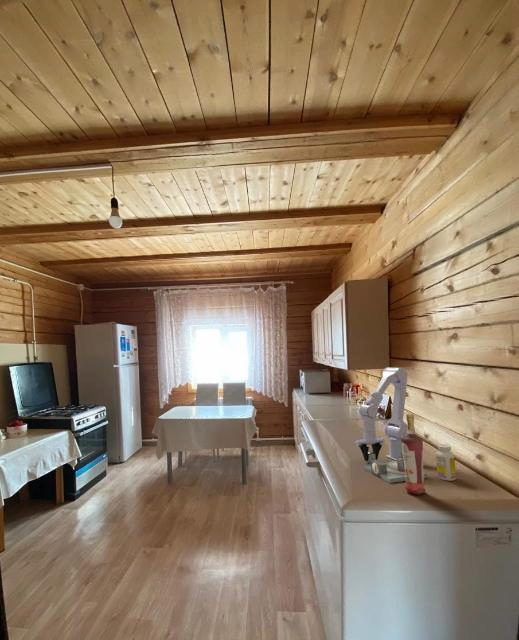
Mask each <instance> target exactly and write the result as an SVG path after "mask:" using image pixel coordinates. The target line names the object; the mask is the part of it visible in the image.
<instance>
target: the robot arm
mask: <svg viewBox="0 0 519 640" xmlns="http://www.w3.org/2000/svg"><path fill="white" fill-rule="evenodd" d="M407 379H408V372H407V371H406V369H404V368H403V367H389V366H387V367H385V368H384V369H383V372H382V377H381V380H380V382H379V384H378V386H377V388H376V390H375V391H374V390H373V391H371V392H370V393H369V396H368V398H367V399H366V401H365V402H364V403H363V404H361V405H360V408H359V410H358V413H359V414H360V416H361V421H362V432H363V433H362V435H363V438H362V439H359V440H357V439H356V440H355V441H354V443H355V444H354V445H355V446H356V447H359V449H360V451H361V453H362V456H363V460H364V461H365V462H366V461H368V451H369V449H370V447H369V446H367V445H371V448H372V449H371V450H372V452H375V453H376V460H378V461H379V455H380V451H381V449H382V444H385V438H384V437H380V438H379V437H377V432H376V431H377V430H376V417H377V416H378V412H379V411H378V410H379V406H380V404H381V403H382V401H383V399H384V396H383V394H384V393H385V392H386V391H387V389H388V387H389V386H390V385H391V384H392V385H393V387H394V391H393V392H394V393H393V400H392V408H391V409H392V411H391V418H389V419H388V420H387V421H386V425H385V428H384V434H385V436H387V439H388V444H389V445H388V447H389V448H388V449H389V454H386V457H387V458H388V459H389V458H390V459H392V460H393V461H397V457H399V456H402V457H403V451H402V442H401V439H402V438H403V437H404V436H407V424H408V423H406V421H404V415H405V403H406V394H407V386H408V385H407V382H408V380H407Z"/></svg>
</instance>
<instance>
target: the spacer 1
mask: <svg viewBox="0 0 519 640" xmlns="http://www.w3.org/2000/svg"><path fill="white" fill-rule="evenodd" d="M370 460H376V453H375V452H373V450H372V451H371V450H370V451H369V450H368V461H365V463H366V464H365V465H368V464H371V461H370Z"/></svg>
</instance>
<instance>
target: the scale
mask: <svg viewBox="0 0 519 640" xmlns="http://www.w3.org/2000/svg"><path fill="white" fill-rule="evenodd" d="M370 461H371V464H363V469H364V470H366V471H367V472H368V473H371V474H372V473H373V475H374V474H375V475H374V476H376V477H378V478H380V479H381V480H383V481H385V482H387V483H389V484H393V483H400V482H406V477H405V472H400V471H398V470H397V461H395V460H393V461H387V462H386V461H385V462H384V461H381V460H379V459H378V460H370ZM423 478H424V479H427V478H428V473H426V472H424V471H423Z"/></svg>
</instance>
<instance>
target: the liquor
mask: <svg viewBox="0 0 519 640" xmlns="http://www.w3.org/2000/svg"><path fill="white" fill-rule="evenodd" d="M405 416H406V422H407V423H406V424H407V436H404V437H403V438H402V439H401V442H402V451H403V459H404V467H405V477H406V481H405V487H404V488H405V490H407V493H410V494H411V495H415V496H420V495H422V494H424V493H425V492H426V491H427V490H426V488H425V483H424V482H425V478H423V472H424V448H423V446H424V445H423V439H421V437H419V436H417V435H416V434H417V433H416V430H415V429H416V428H415V415H414V414H411V413H407V414H406V415H405Z"/></svg>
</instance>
